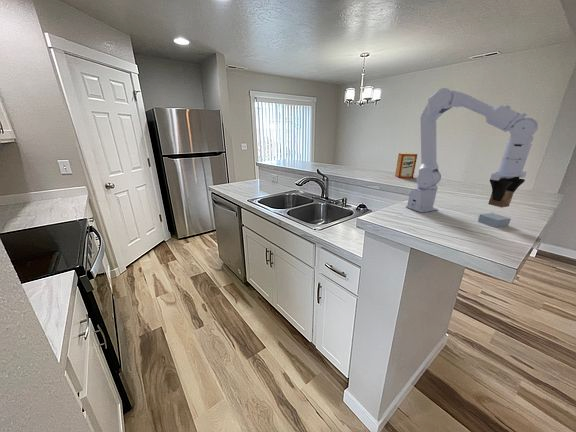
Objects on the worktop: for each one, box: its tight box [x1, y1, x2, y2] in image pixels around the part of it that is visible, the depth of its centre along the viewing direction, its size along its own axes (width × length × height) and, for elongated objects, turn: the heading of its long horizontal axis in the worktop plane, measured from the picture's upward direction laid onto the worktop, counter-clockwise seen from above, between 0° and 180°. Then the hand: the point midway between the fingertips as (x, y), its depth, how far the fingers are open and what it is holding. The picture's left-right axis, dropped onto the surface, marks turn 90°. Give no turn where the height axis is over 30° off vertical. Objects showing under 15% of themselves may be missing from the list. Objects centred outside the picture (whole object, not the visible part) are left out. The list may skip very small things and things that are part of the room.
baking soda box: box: [394, 152, 418, 179], centre depth 159 cm, size 10×6×16 cm
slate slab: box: [477, 212, 512, 229], centre depth 82 cm, size 6×6×3 cm
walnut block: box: [487, 190, 515, 209], centre depth 79 cm, size 4×4×5 cm
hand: (500, 199), depth 79 cm, fingers closed on walnut block, 4 cm apart
